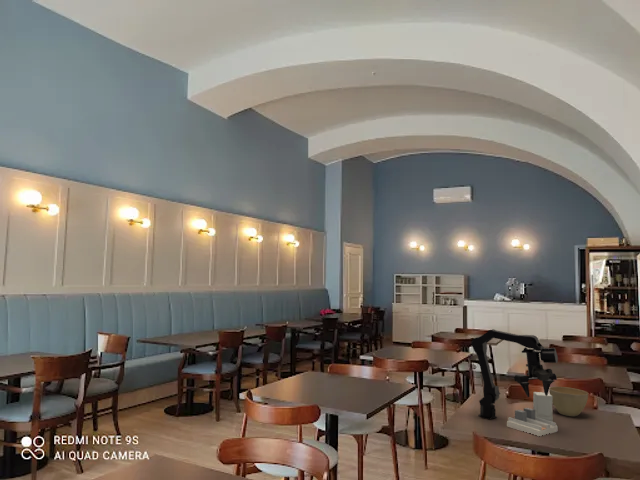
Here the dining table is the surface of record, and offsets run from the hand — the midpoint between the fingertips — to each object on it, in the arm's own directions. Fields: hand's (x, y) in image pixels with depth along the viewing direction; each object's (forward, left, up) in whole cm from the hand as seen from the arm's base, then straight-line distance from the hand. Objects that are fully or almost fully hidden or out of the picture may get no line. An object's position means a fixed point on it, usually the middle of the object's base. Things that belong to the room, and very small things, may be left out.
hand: (537, 396), depth 223 cm
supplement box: (-6, +14, -15) cm, 21 cm away
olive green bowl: (-5, +36, -15) cm, 39 cm away
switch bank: (0, -5, -14) cm, 15 cm away
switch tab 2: (-3, -1, -12) cm, 12 cm away
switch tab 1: (-3, -8, -12) cm, 15 cm away
